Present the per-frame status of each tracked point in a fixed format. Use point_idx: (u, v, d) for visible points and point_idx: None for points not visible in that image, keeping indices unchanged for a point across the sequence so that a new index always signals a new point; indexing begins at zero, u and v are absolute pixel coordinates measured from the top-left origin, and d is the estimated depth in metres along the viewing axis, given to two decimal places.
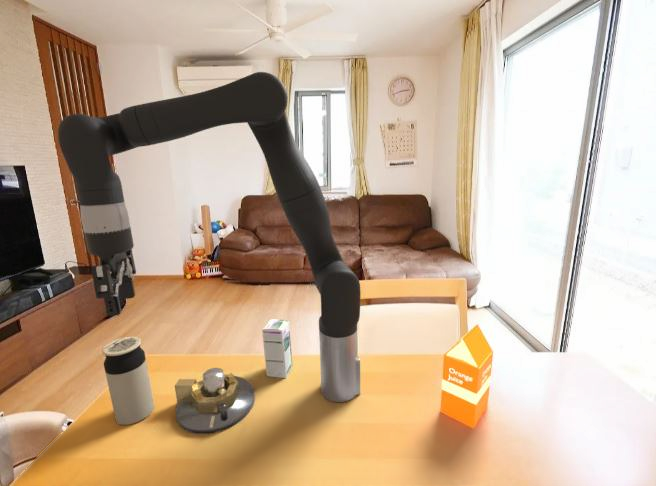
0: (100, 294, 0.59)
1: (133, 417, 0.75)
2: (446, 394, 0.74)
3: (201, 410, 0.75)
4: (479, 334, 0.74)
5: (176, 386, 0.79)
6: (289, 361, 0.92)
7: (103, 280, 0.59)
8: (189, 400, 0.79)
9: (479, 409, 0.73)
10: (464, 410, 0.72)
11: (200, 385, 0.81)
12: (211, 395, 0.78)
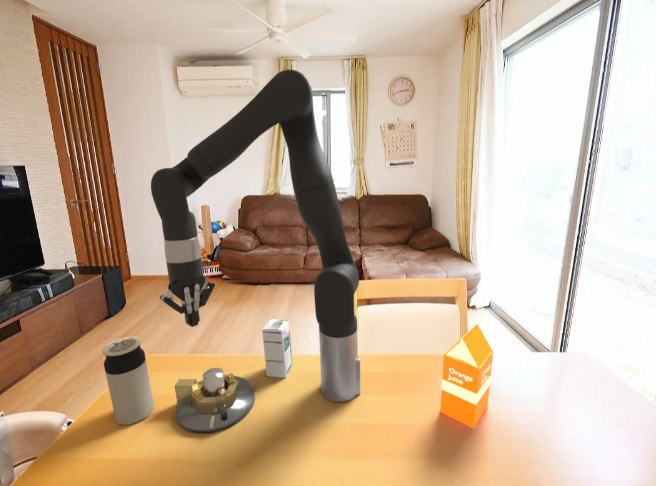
0: None
1: (133, 417, 0.75)
2: (446, 394, 0.74)
3: (201, 410, 0.75)
4: (479, 334, 0.74)
5: (176, 386, 0.79)
6: (289, 361, 0.92)
7: None
8: (189, 400, 0.79)
9: (479, 409, 0.73)
10: (464, 410, 0.72)
11: (200, 385, 0.81)
12: (211, 395, 0.78)
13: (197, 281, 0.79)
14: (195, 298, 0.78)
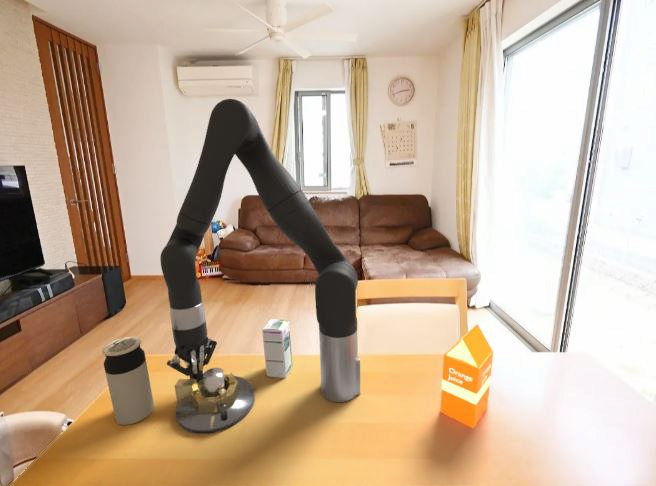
0: None
1: (133, 417, 0.75)
2: (446, 394, 0.74)
3: (201, 410, 0.75)
4: (479, 334, 0.74)
5: (176, 386, 0.79)
6: (289, 361, 0.92)
7: None
8: (189, 400, 0.79)
9: (479, 409, 0.73)
10: (464, 410, 0.72)
11: (200, 385, 0.81)
12: (211, 395, 0.78)
13: (201, 342, 0.82)
14: (200, 359, 0.82)
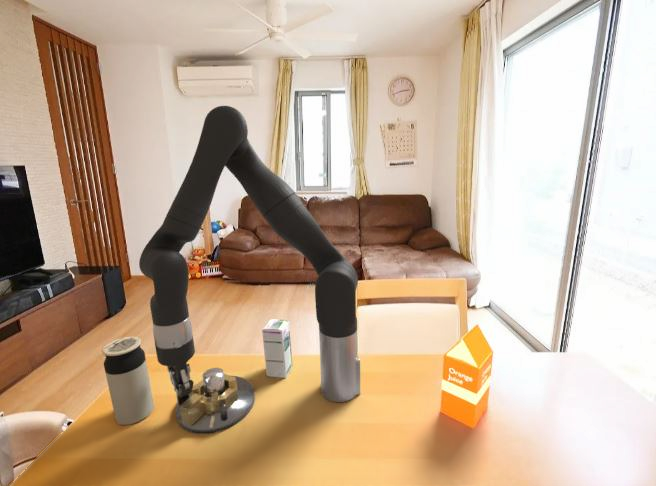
0: None
1: (133, 417, 0.75)
2: (446, 394, 0.74)
3: (227, 405, 0.77)
4: (479, 334, 0.74)
5: (189, 408, 0.71)
6: (289, 361, 0.92)
7: None
8: (200, 415, 0.75)
9: (479, 409, 0.73)
10: (464, 410, 0.72)
11: None
12: None
13: None
14: None
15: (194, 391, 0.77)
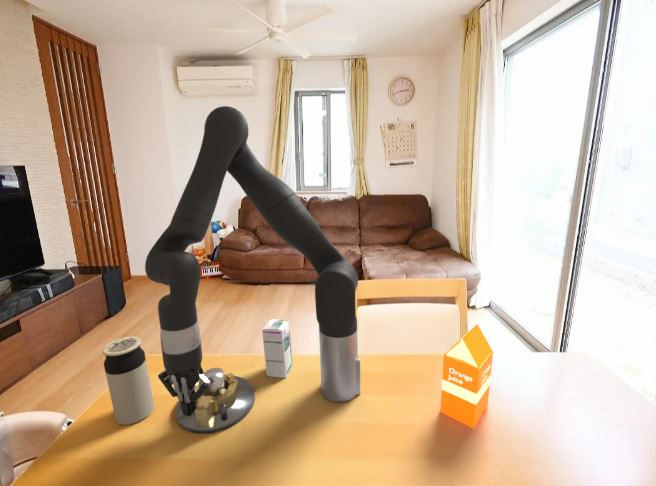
0: None
1: (133, 417, 0.75)
2: (446, 394, 0.74)
3: (234, 398, 0.79)
4: (479, 334, 0.74)
5: (206, 408, 0.71)
6: (289, 361, 0.92)
7: None
8: (212, 415, 0.75)
9: (479, 409, 0.73)
10: (464, 410, 0.72)
11: None
12: (211, 395, 0.78)
13: None
14: None
15: None
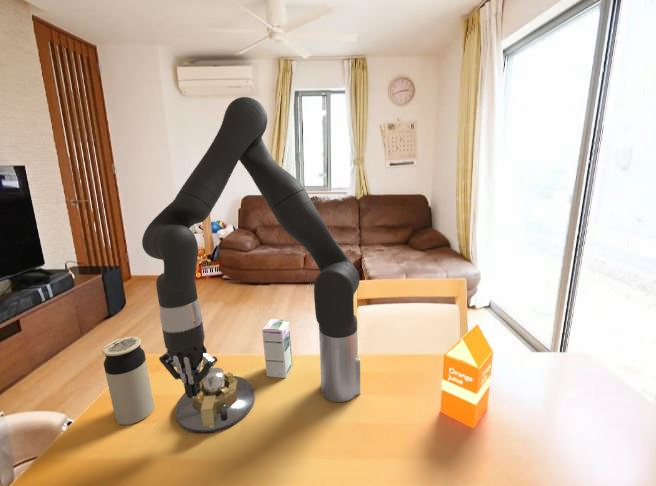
0: None
1: (133, 417, 0.75)
2: (446, 394, 0.74)
3: (236, 396, 0.79)
4: (479, 334, 0.74)
5: (212, 407, 0.71)
6: (289, 361, 0.92)
7: None
8: (216, 414, 0.75)
9: (479, 409, 0.73)
10: (464, 410, 0.72)
11: None
12: (211, 395, 0.78)
13: None
14: None
15: (199, 397, 0.76)
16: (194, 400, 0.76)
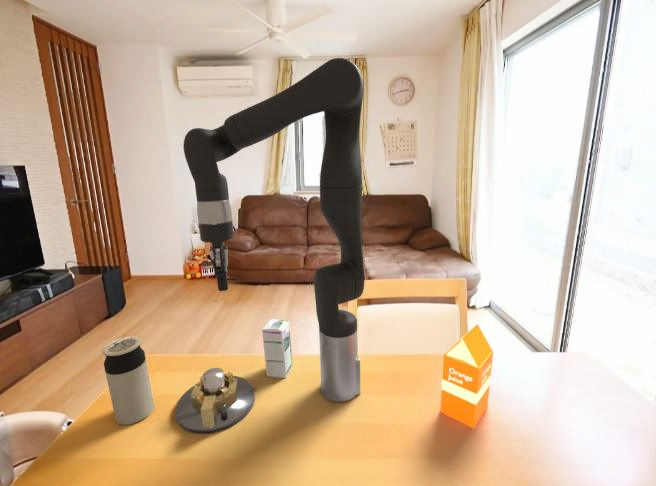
0: None
1: (133, 417, 0.75)
2: (446, 394, 0.74)
3: (236, 396, 0.79)
4: (479, 334, 0.74)
5: (212, 407, 0.71)
6: (289, 361, 0.92)
7: None
8: (216, 414, 0.75)
9: (479, 409, 0.73)
10: (464, 410, 0.72)
11: None
12: (211, 395, 0.78)
13: (223, 244, 0.81)
14: (227, 260, 0.81)
15: (199, 397, 0.76)
16: (194, 400, 0.76)
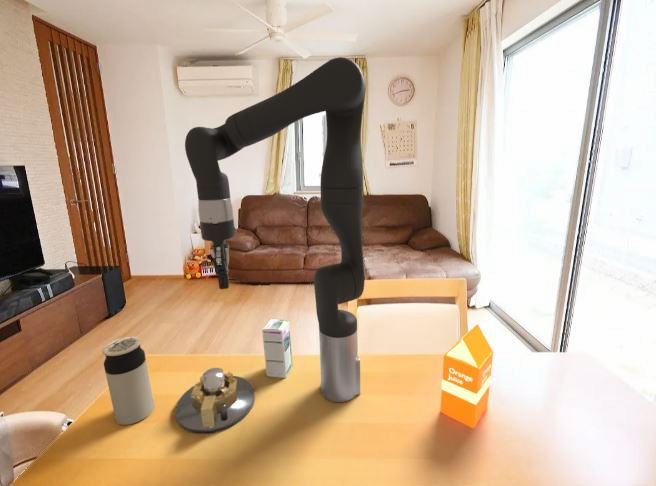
0: None
1: (133, 417, 0.75)
2: (446, 394, 0.74)
3: (236, 396, 0.79)
4: (479, 334, 0.74)
5: (212, 407, 0.71)
6: (289, 361, 0.92)
7: None
8: (216, 414, 0.75)
9: (479, 409, 0.73)
10: (464, 410, 0.72)
11: None
12: (211, 395, 0.78)
13: (224, 242, 0.81)
14: (228, 258, 0.81)
15: (199, 397, 0.76)
16: (194, 400, 0.76)
